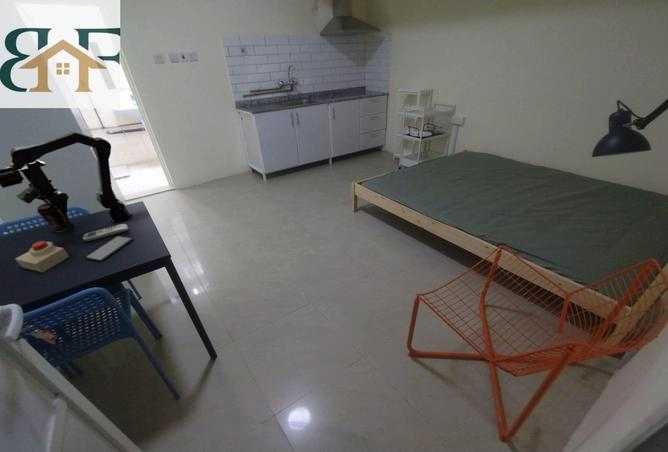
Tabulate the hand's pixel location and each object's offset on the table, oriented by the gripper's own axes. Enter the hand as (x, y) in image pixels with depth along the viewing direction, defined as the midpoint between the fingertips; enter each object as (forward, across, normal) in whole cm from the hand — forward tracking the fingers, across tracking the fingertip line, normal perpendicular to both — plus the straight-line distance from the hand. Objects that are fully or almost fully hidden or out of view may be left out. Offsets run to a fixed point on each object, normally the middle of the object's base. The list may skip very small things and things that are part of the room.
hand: (60, 211), depth 122 cm
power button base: (+13, +11, -16) cm, 23 cm away
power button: (+7, +10, -14) cm, 19 cm away
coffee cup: (+13, -13, 0) cm, 18 cm away
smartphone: (+13, +26, +1) cm, 29 cm away
